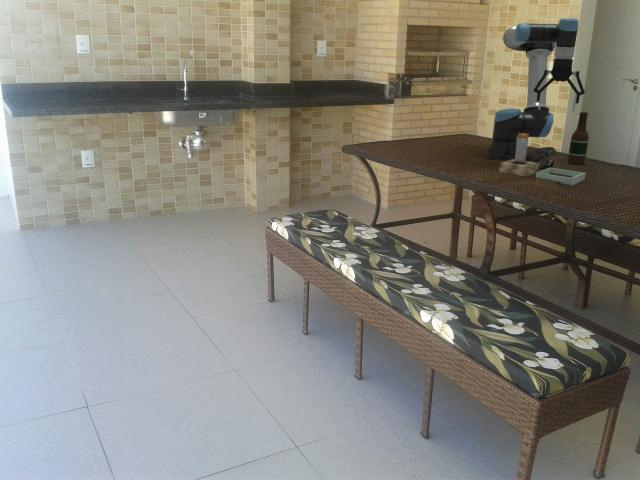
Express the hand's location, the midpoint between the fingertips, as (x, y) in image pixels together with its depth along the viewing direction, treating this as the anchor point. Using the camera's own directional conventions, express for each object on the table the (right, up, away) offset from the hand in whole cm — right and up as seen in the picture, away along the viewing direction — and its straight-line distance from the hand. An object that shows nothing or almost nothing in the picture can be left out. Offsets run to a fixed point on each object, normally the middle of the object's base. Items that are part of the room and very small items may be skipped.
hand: (556, 110), depth 258 cm
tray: (0, -30, -4) cm, 30 cm away
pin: (-15, -26, +4) cm, 30 cm away
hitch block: (-15, -27, +5) cm, 31 cm away
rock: (-1, -23, +17) cm, 29 cm away
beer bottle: (+21, -19, +31) cm, 42 cm away
